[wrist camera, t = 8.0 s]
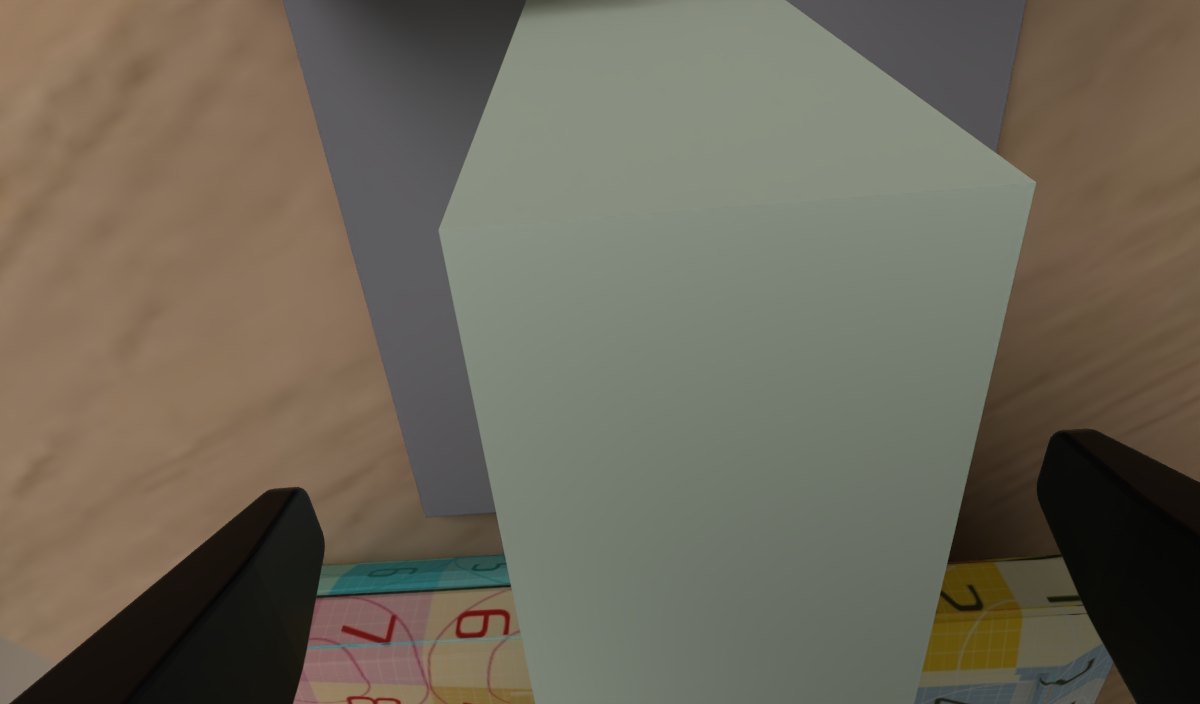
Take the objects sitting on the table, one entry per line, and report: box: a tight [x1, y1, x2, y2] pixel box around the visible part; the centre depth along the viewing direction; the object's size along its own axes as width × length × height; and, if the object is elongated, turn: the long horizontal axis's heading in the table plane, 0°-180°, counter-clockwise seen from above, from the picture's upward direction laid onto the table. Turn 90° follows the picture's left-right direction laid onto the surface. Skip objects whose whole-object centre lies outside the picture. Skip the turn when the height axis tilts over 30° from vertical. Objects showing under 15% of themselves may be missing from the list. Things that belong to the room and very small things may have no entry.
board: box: [439, 0, 1036, 704], centre depth 11 cm, size 3×10×10 cm, turn 4°
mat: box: [283, 0, 1026, 517], centre depth 15 cm, size 12×12×1 cm
